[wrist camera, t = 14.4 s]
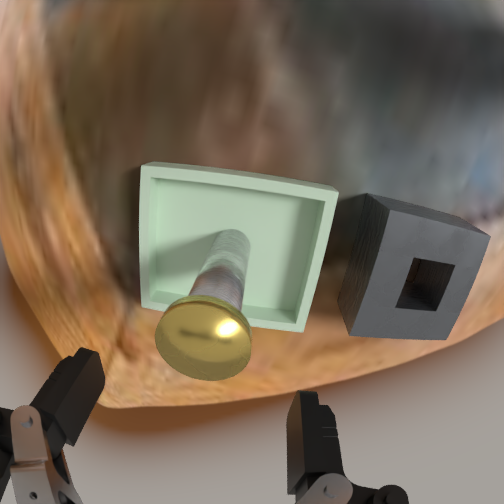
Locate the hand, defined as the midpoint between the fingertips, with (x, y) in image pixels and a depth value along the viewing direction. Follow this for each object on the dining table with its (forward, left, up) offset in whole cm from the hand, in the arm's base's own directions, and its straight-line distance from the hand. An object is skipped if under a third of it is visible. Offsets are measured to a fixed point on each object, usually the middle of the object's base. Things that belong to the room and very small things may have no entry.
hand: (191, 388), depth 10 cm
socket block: (-15, -1, -15) cm, 21 cm away
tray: (0, 0, -15) cm, 15 cm away
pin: (0, 0, -14) cm, 14 cm away
